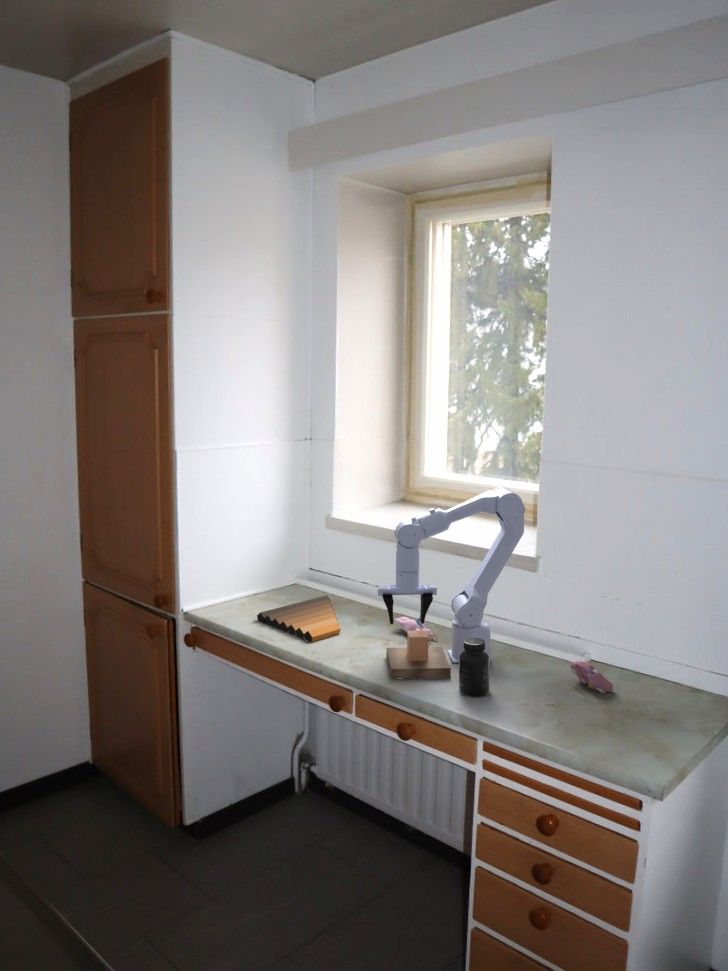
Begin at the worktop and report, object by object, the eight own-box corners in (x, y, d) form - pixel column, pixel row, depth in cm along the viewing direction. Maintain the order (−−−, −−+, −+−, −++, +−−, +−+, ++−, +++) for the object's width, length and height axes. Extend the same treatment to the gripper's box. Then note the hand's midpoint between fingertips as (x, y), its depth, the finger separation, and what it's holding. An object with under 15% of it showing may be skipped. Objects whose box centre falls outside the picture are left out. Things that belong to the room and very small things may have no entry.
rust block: (425, 653, 200) (426, 630, 199) (428, 660, 195) (428, 636, 194) (407, 654, 200) (407, 630, 199) (409, 661, 195) (409, 637, 194)
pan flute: (323, 604, 250) (257, 622, 233) (323, 593, 249) (256, 611, 232) (380, 623, 232) (312, 644, 215) (380, 612, 231) (312, 632, 214)
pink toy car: (574, 685, 191) (564, 661, 189) (589, 674, 193) (579, 651, 190) (601, 701, 182) (590, 677, 180) (616, 690, 183) (606, 665, 181)
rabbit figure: (441, 644, 218) (403, 622, 228) (444, 624, 216) (405, 602, 227) (424, 649, 214) (386, 626, 224) (427, 629, 212) (389, 607, 223)
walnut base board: (441, 656, 205) (441, 646, 205) (450, 678, 191) (450, 667, 191) (386, 657, 204) (386, 647, 204) (391, 679, 191) (391, 669, 190)
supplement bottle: (479, 683, 188) (480, 634, 186) (494, 695, 182) (496, 644, 180) (453, 688, 186) (454, 637, 184) (467, 699, 179) (468, 648, 177)
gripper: (434, 565, 204) (433, 617, 206) (376, 566, 203) (376, 618, 205) (438, 572, 197) (437, 626, 199) (379, 573, 196) (378, 627, 198)
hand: (406, 622), depth 202 cm, fingers open, 7 cm apart
